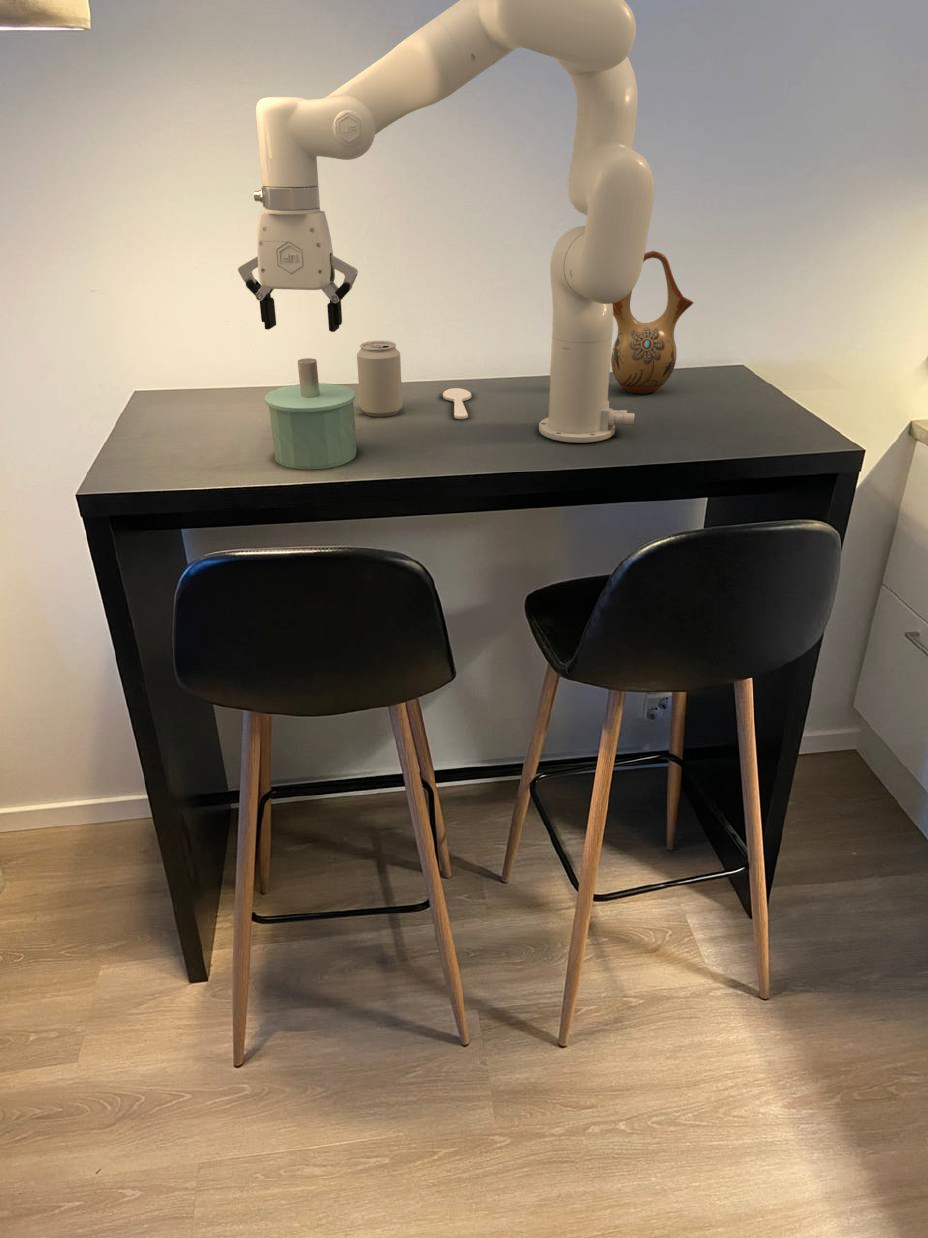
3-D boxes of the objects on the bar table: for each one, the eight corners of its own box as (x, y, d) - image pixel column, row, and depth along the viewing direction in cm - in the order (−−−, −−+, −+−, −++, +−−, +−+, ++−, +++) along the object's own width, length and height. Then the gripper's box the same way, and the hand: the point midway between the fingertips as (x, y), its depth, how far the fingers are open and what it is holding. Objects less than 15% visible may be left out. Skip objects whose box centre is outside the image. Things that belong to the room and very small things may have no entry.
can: (396, 419, 159) (393, 349, 153) (355, 416, 160) (350, 347, 154) (407, 406, 165) (404, 339, 160) (367, 404, 167) (363, 337, 161)
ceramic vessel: (677, 383, 177) (692, 246, 165) (689, 397, 170) (706, 253, 157) (593, 385, 177) (602, 247, 164) (602, 399, 169) (612, 255, 156)
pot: (364, 444, 148) (361, 388, 143) (344, 471, 137) (339, 412, 132) (289, 441, 149) (284, 386, 145) (263, 467, 138) (256, 409, 134)
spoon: (446, 419, 158) (446, 416, 158) (441, 390, 174) (441, 387, 174) (476, 418, 159) (476, 415, 158) (469, 390, 174) (469, 387, 174)
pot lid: (365, 391, 144) (362, 350, 141) (342, 417, 132) (339, 373, 129) (282, 389, 146) (278, 348, 142) (252, 414, 134) (247, 370, 131)
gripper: (221, 201, 123) (236, 332, 131) (346, 204, 121) (353, 336, 129) (241, 197, 129) (254, 321, 138) (360, 199, 127) (366, 325, 135)
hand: (302, 328), depth 133 cm, fingers open, 9 cm apart
